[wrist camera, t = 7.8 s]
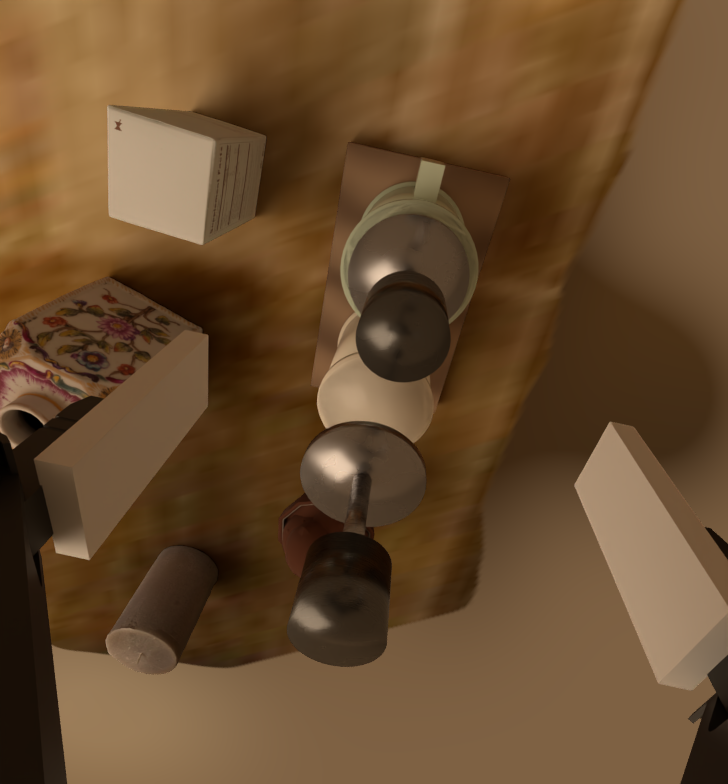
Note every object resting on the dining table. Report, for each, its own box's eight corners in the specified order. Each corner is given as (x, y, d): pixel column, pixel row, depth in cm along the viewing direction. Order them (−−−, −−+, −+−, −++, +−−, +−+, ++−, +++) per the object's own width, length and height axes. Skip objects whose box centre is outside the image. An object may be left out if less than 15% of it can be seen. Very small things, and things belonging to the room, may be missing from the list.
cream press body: (347, 292, 45) (325, 339, 34) (442, 313, 45) (449, 367, 34) (329, 392, 51) (305, 459, 40) (414, 410, 51) (412, 482, 40)
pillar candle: (229, 583, 72) (187, 681, 59) (177, 592, 74) (125, 688, 61) (199, 539, 68) (146, 634, 55) (145, 549, 70) (82, 643, 57)
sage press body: (447, 300, 44) (456, 351, 34) (350, 278, 44) (329, 322, 34) (486, 169, 38) (511, 182, 28) (374, 144, 38) (357, 148, 28)
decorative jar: (81, 355, 54) (-56, 445, 38) (105, 271, 48) (-44, 337, 33) (175, 404, 56) (81, 508, 40) (208, 329, 51) (114, 416, 35)
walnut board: (350, 142, 40) (347, 142, 39) (506, 176, 40) (510, 178, 39) (313, 378, 52) (310, 385, 51) (434, 404, 52) (434, 413, 51)
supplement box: (182, 196, 44) (103, 216, 33) (189, 108, 40) (103, 99, 29) (256, 220, 44) (203, 249, 33) (270, 136, 41) (215, 137, 30)
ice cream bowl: (296, 506, 62) (263, 605, 49) (299, 440, 57) (263, 531, 44) (373, 519, 62) (361, 621, 49) (384, 453, 56) (374, 549, 43)
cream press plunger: (311, 408, 28) (253, 556, 18) (440, 436, 28) (452, 600, 18) (296, 503, 32) (241, 667, 22) (409, 528, 32) (404, 703, 22)
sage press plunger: (449, 341, 33) (461, 428, 23) (340, 317, 33) (307, 394, 23) (484, 228, 29) (517, 275, 19) (361, 200, 29) (331, 233, 19)
